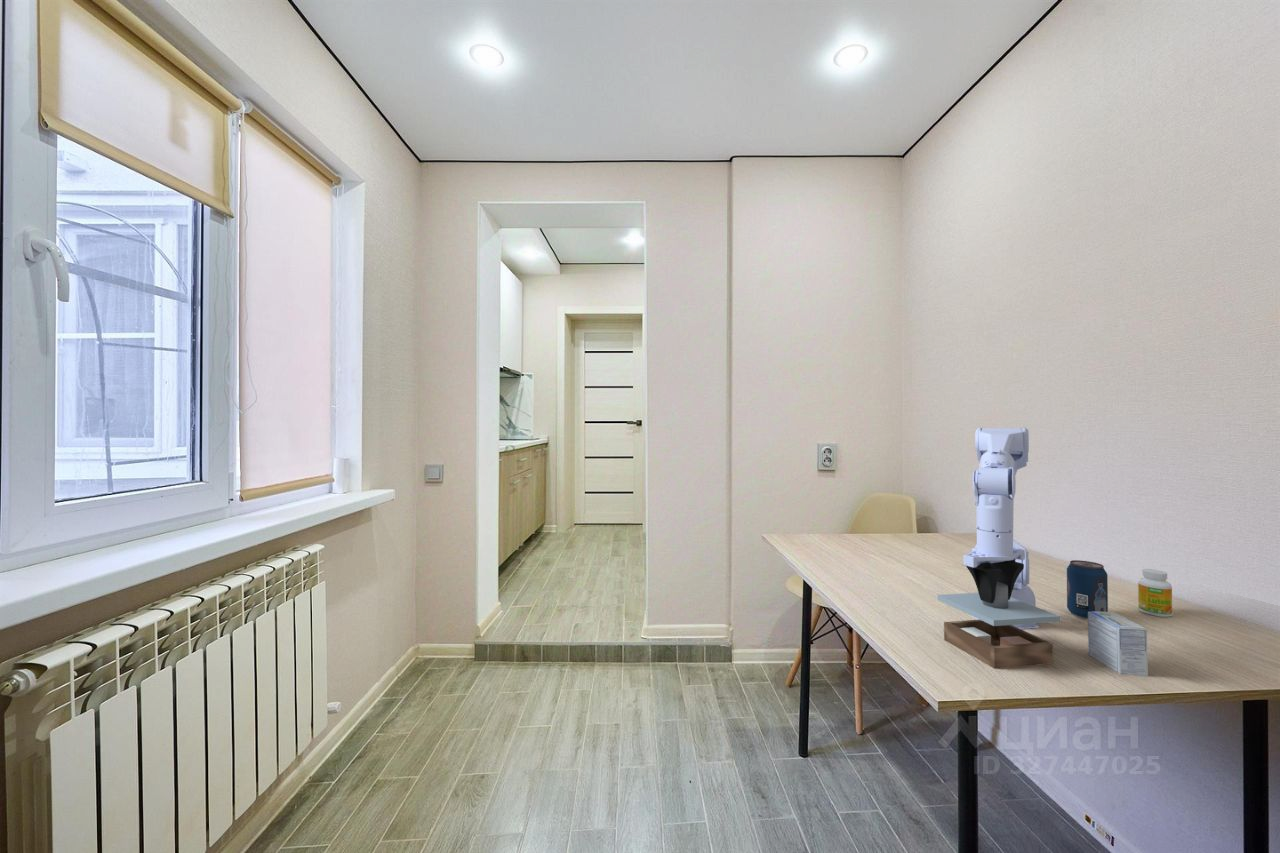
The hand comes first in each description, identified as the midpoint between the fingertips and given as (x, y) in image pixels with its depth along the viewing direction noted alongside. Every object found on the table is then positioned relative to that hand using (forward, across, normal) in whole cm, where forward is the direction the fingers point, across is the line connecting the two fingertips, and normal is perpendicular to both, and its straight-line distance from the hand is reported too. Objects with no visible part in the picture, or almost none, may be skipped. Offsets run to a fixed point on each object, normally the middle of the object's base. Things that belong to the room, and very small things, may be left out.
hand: (995, 599), depth 94 cm
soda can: (+10, -38, -5) cm, 40 cm away
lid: (+2, 0, 0) cm, 2 cm away
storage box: (+10, 0, 0) cm, 10 cm away
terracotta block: (+10, -2, +3) cm, 11 cm away
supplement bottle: (+11, -54, 0) cm, 55 cm away
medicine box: (+10, -15, +12) cm, 22 cm away
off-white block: (+10, +2, -3) cm, 11 cm away
